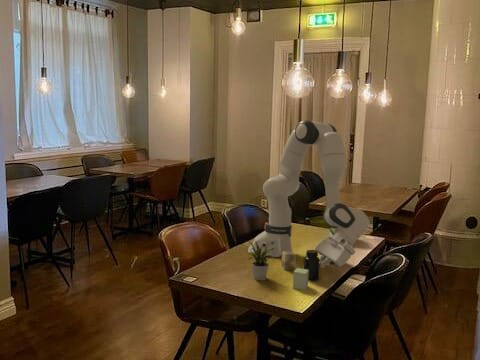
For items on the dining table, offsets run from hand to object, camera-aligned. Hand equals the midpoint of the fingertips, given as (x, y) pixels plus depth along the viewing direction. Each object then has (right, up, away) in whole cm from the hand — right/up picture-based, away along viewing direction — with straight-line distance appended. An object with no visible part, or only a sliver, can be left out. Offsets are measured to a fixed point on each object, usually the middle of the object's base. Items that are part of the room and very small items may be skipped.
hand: (319, 265), depth 205 cm
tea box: (+22, +3, +64) cm, 68 cm away
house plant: (-27, -5, -2) cm, 28 cm away
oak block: (-12, -3, +13) cm, 18 cm away
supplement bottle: (-4, -5, 0) cm, 7 cm away
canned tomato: (+11, -3, +22) cm, 25 cm away
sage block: (-10, -7, -11) cm, 16 cm away
